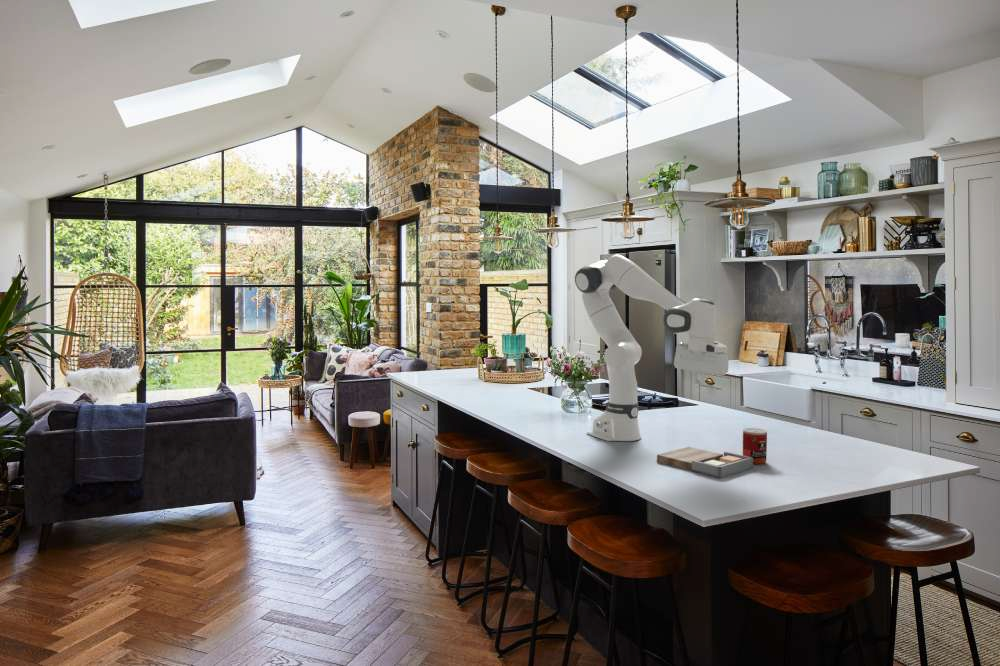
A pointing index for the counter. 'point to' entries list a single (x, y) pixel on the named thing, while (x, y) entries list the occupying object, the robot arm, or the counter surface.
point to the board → (687, 457)
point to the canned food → (755, 444)
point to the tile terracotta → (729, 459)
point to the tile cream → (715, 463)
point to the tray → (723, 466)
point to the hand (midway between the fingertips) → (699, 384)
